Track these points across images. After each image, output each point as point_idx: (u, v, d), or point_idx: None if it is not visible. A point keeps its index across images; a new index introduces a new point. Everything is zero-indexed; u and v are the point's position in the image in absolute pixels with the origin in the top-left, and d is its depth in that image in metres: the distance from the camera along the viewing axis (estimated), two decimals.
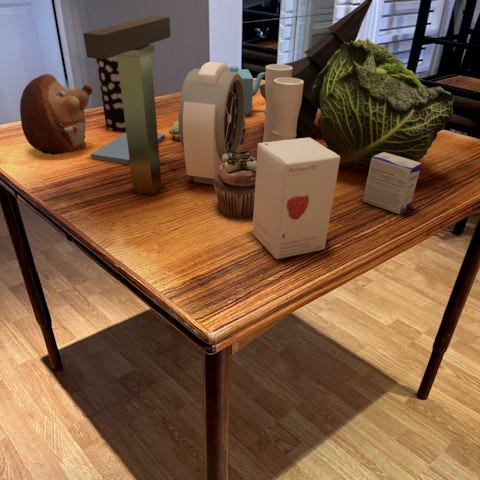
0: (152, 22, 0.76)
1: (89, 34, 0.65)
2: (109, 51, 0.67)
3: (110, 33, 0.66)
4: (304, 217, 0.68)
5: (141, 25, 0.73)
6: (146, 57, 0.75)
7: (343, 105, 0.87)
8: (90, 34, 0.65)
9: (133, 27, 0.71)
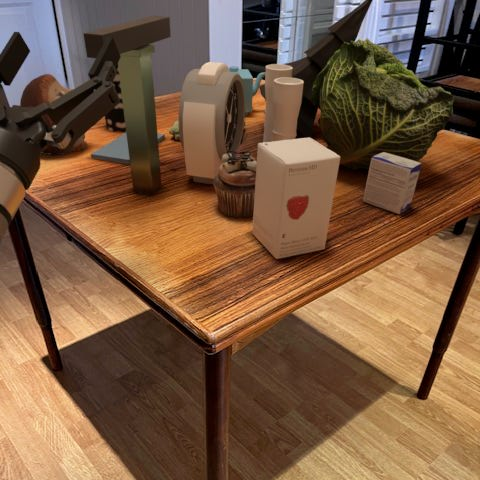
0: (152, 22, 0.76)
1: (89, 34, 0.65)
2: None
3: (110, 33, 0.66)
4: (304, 217, 0.68)
5: (141, 25, 0.73)
6: (146, 57, 0.75)
7: (343, 105, 0.87)
8: (90, 34, 0.65)
9: (133, 27, 0.71)
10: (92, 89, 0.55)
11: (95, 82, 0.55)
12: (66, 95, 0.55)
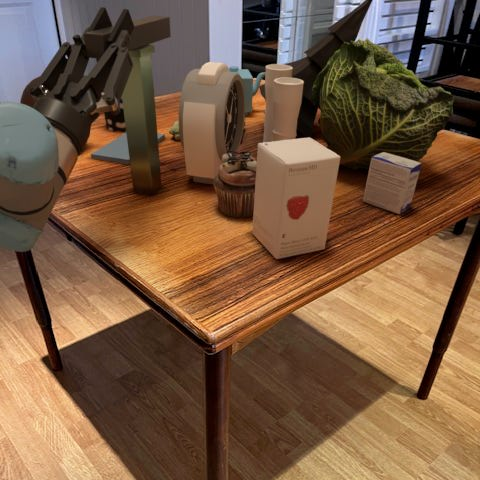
0: (152, 22, 0.76)
1: (89, 34, 0.65)
2: None
3: (110, 33, 0.66)
4: (304, 217, 0.68)
5: (141, 25, 0.73)
6: (146, 57, 0.75)
7: (343, 105, 0.87)
8: (90, 34, 0.65)
9: None
10: (114, 54, 0.65)
11: (114, 47, 0.65)
12: (97, 65, 0.64)
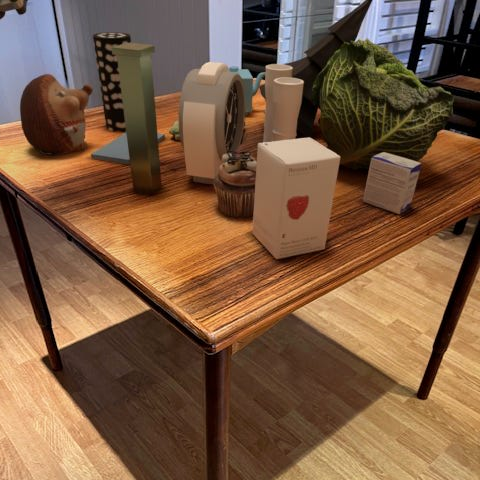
0: None
1: None
2: None
3: None
4: (304, 217, 0.68)
5: None
6: (146, 57, 0.75)
7: (343, 105, 0.87)
8: None
9: None
10: None
11: None
12: None
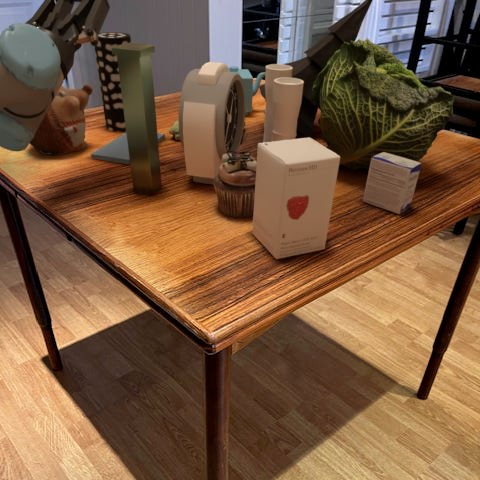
0: None
1: None
2: None
3: None
4: (304, 217, 0.68)
5: None
6: (146, 57, 0.75)
7: (343, 105, 0.87)
8: None
9: None
10: None
11: None
12: (79, 5, 0.78)
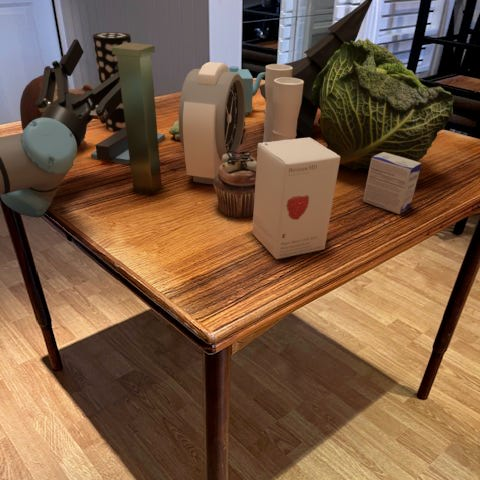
0: None
1: (99, 145, 0.96)
2: (112, 155, 0.98)
3: (113, 143, 0.97)
4: (304, 217, 0.68)
5: None
6: (146, 57, 0.75)
7: (343, 105, 0.87)
8: (100, 146, 0.96)
9: None
10: (117, 79, 0.85)
11: None
12: (101, 84, 0.85)
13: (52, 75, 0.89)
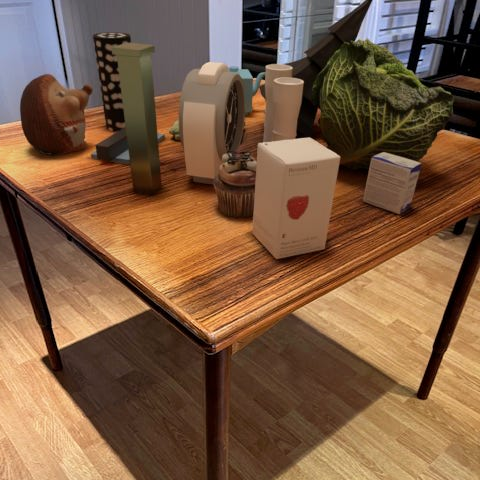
0: None
1: (99, 145, 0.96)
2: (112, 155, 0.98)
3: (113, 143, 0.97)
4: (304, 217, 0.68)
5: None
6: (146, 57, 0.75)
7: (343, 105, 0.87)
8: (100, 146, 0.96)
9: None
10: None
11: None
12: None
13: None
